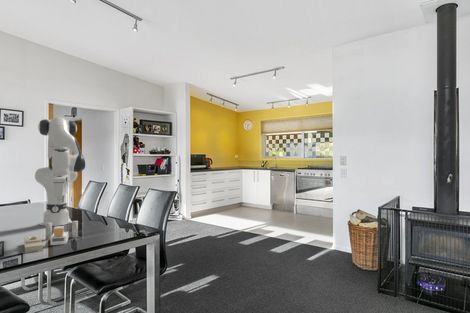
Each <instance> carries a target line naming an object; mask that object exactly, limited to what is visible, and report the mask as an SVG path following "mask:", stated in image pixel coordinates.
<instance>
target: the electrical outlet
mask: <svg viewBox="0 0 470 313" xmlns="http://www.w3.org/2000/svg"><path fill="white" fill-rule="evenodd" d="M23 240H24V241H23V242H24V243H23V246H24V254H28V253H29V254H30V253H35V252H43V251H44V250H43V249H44V246H43V242H42V236H41V235H33V236H25V237H24V238H23Z"/></svg>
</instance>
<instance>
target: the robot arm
mask: <svg viewBox="0 0 470 313" xmlns="http://www.w3.org/2000/svg"><path fill="white" fill-rule="evenodd" d="M37 130H38V132H39V134H40V135H42V136H48V140H47V158H48V162H49V163H48V166H47V167H41V168H38V169H37V170H36V171H35V173H34V179H35V180H36V182H37V183H38V184H40V185H42V187H43V188H44V189H45V191H46V198H47V199H46V202H47V203H46V207H45V208H46V210H45V211H44V212H43V220H42V222H41V223H39V224H40V226H44V227H46V223H52V227H58V226H65V225H69V224H72V221H73V220H71V217H70V215H69V213H70V212H69V210H68V209H67V207H68V203H67V193H68V183H72V182H75V181H76V180H77V178H78V173H81V172H82V171H83V170H85V169H86V166H87V165H86V164H87V163H86V159H85V156H84V155H83V153H82V149H81V147H80V144H79V142H78V140H77V138H76V137H75V135H76V134H77V131H78V126H77V124H76V122H75V121H73V120H66V119H65V118H63V117H62V116H55V117H53V118H52V119H41V120H40V121H39V123H38V125H37ZM67 148H68V149H67ZM69 149H70V150H71V151H72V154H70V151H69Z"/></svg>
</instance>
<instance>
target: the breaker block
mask: <svg viewBox="0 0 470 313" xmlns="http://www.w3.org/2000/svg"><path fill="white" fill-rule="evenodd" d="M69 238H70V237H69V230H68V231H67V230H66V231H63V236H54V233H52V236H51V240H50V245H49V246H59V245H66V244H67V242H68V240H69Z"/></svg>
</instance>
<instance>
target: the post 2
mask: <svg viewBox="0 0 470 313" xmlns="http://www.w3.org/2000/svg"><path fill="white" fill-rule="evenodd" d="M71 221H72V223H71V238H72V239H75V238H78V237H79V220H71Z"/></svg>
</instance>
